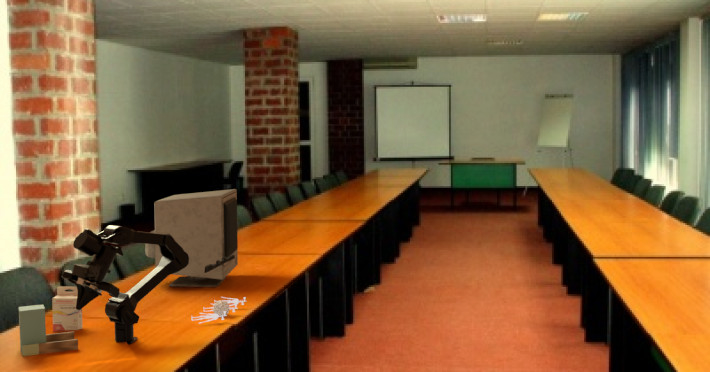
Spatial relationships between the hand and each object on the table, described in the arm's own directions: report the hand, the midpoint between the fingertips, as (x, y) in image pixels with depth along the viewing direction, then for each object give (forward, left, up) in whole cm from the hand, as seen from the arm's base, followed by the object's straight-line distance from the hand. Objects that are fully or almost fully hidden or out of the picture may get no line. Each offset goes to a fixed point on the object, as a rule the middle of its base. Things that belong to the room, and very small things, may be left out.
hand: (77, 309), depth 231 cm
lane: (-3, -8, -13) cm, 16 cm away
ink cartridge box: (-25, -15, -14) cm, 32 cm away
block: (+1, -14, -12) cm, 19 cm away
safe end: (+1, -15, -13) cm, 20 cm away
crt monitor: (-107, +4, -13) cm, 108 cm away
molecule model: (-48, +31, -14) cm, 59 cm away
